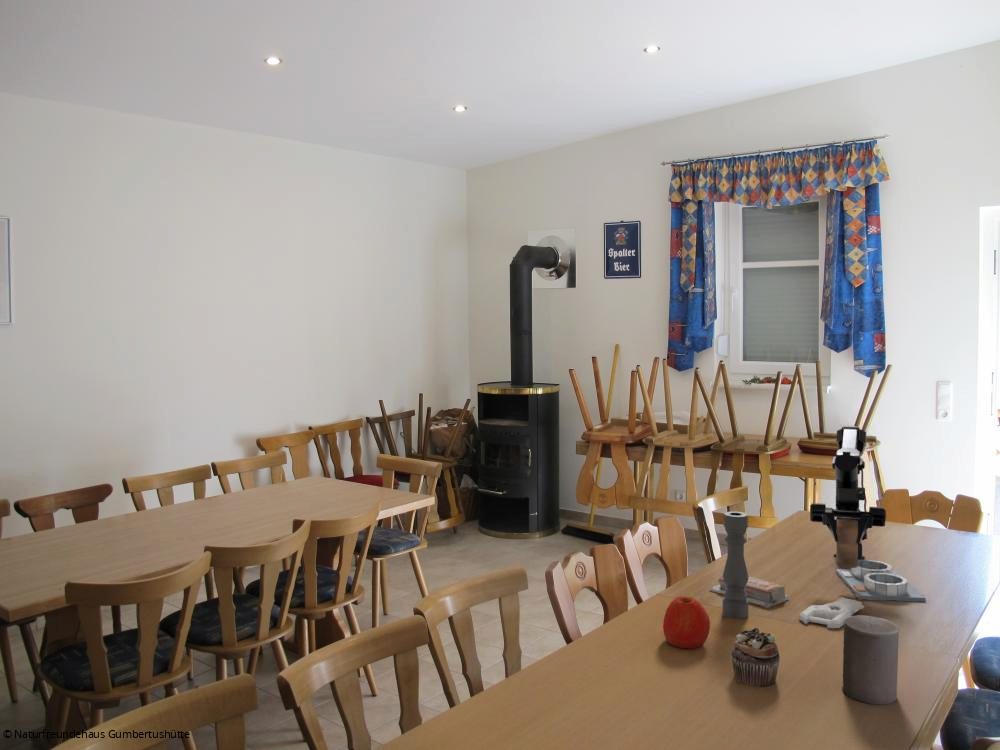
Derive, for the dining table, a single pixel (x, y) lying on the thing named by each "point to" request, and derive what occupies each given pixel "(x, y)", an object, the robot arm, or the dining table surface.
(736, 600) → the candle holder
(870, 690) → the pillar candle
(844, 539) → the walnut peg
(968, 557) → the dining table surface
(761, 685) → the cupcake
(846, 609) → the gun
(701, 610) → the apple
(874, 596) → the socket board
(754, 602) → the packaged product
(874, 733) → the dining table surface
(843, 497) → the robot arm
